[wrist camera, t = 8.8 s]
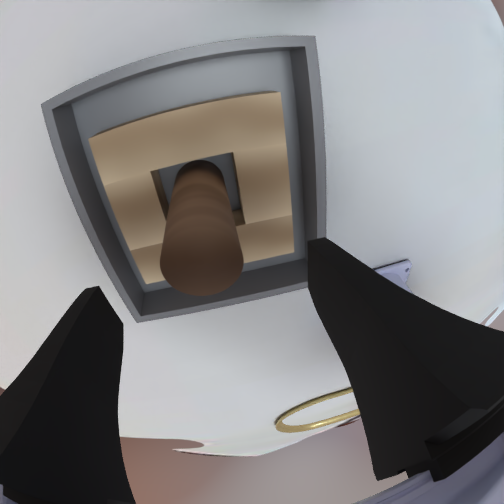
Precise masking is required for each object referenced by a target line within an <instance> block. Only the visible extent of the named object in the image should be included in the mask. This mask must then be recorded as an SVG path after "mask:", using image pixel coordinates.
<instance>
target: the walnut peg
mask: <svg viewBox="0 0 504 504" xmlns="http://www.w3.org/2000/svg"><path fill="white" fill-rule="evenodd" d="M243 265H244V258H243V253H242V250H241V246H240V242H239V238H238V234H237V230H236V226H235V222H234V218H233V214H232V210H231V205H230V201H229V197H228V193H227V189H226V185H225V181H224V177H223V174H222V172H221V170H220V169H219V168H218V167H217V166H216V165H215V164H214V163H212V162H209V161H206V160H194V161H191V162H188V163H187V164H185V165H184V166H183V167H182V168H181V169H180V170H179V171H178V173H177V175H176V178H175V183H174V187H173V192H172V196H171V201H170V206H169V211H168V216H167V221H166V226H165V232H164V238H163V243H162V250H161V256H160V269H161V272H162V275H163V277H164V278H165V280H166V281H167V282H168V283H169V284H170V285H171V286H172V287H173V288H175V289H176V290H178V291H180V292H183V293H185V294H189V295H195V296H207V295H213V294H216V293H219V292H222V291H224V290H226V289H227V288H229V287H230V286H231V285H233V284H234V283H235V282H236V280H237V279H238V278H239V276H240V274H241V272H242V270H243Z"/></svg>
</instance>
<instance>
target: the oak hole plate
mask: <svg viewBox="0 0 504 504" xmlns="http://www.w3.org/2000/svg"><path fill="white" fill-rule="evenodd" d="M88 140H89V143H90V146H91V150H92V153H93V156H94V159H95V162H96V165H97V168H98V171H99V174H100V177H101V180H102V183H103V185H104V188H105V191H106V194H107V196H108V199H109V201H110V204H111V207H112V209H113V212H114V214H115V217H116V219H117V222H118V224H119V226H120V229H121V231H122V233H123V236H124V238H125V240H126V243H127V245H128V247H129V249H130V252H131V254H132V256H133V258H134V260H135V262H136V264H137V267H138V269H139V271H140V273H141V275H142V277H143V279H144V281H145V283H146V284H149V283H154V282H159V281H164V280H165V278H164V277H163V275H162V272H161V269H160V256H161V250H162V243H163V238H164V232H165V226H166V221H167V216H168V211H169V204H168V201H167V198H166V195H165V191H164V188H163V185H162V181H161V178H160V174H159V171H158V169H161V168H165V167H168V166H172V165H176V164H180V163H184V162H188V161H193V160H197V159H201V158H206V157H210V156H215V155H220V154H225V153H230V152H231V156H232V161H233V167H234V173H235V179H236V184H237V190H238V195H239V201H240V207H241V209H238V210H234V211H232V214H233V218H234V222H235V226H236V230H237V234H238V238H239V242H240V246H241V250H242V253H243V258H244V263H248V262H252V261H257V260H261V259H266V258H270V257H275V256H280V255H284V254H289V253H293V252H294V238H293V221H292V207H291V193H290V180H289V169H288V157H287V147H286V137H285V127H284V118H283V109H282V101H281V92H277V91H263V92H255V93H248V94H241V95H234V96H228V97H223V98H217V99H212V100H207V101H202V102H197V103H193V104H188V105H184V106H180V107H176V108H172V109H168V110H165V111H161V112H157V113H154V114H150V115H147V116H144V117H141V118H137V119H134V120H131V121H128V122H125V123H122V124H119V125H117V126H114V127H111V128H108V129H106V130H103V131H100V132H99V133H97V134H95V135H94V136H92V137H90V138H89V139H88Z"/></svg>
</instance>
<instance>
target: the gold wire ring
mask: <svg viewBox="0 0 504 504" xmlns="http://www.w3.org/2000/svg"><path fill="white" fill-rule="evenodd" d="M351 392H353V389H352V388H348V389H345V390H342V391H339V392H336V393H332V394H329V395H325V396H322V397H319V398H316V399H314V400H311V401H309V402H306V403H304V404H302V405H299V406H297V407H295V408H293V409H292V410H290V411H288V412H287V413H285V414H284V415H283V416H282V417H281V418H280V419H279V420H278V421H277V423H276V429H277V430H278V431H280V432H286V433H292V432H301V431H307V430H311V429H315V428H319V427H322V426H326V425H329V424H332V423H335V422H339V421H342V420H345V419H348V418H351V417H353V416H356V415H359V414H360V411H359V409H356V410H353V411H351V412H348V413H345V414H342V415H338V416H335V417H332V418H329V419H325V420H322V421H318V422H315V423H311V424H306V425H299V426H289V425H285V424H283V423H282V420H283V419H284V418H286V417H288V416H289V415H291V414H293V413H295V412H297V411H299V410H302V409H304V408H306V407H309V406H311V405H314V404H316V403H319V402H322V401H325V400H328V399H331V398H335V397H338V396H341V395H345V394H348V393H351Z"/></svg>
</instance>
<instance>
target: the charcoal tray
mask: <svg viewBox="0 0 504 504" xmlns="http://www.w3.org/2000/svg"><path fill="white" fill-rule="evenodd" d="M263 91H277V92H281V101H282V109H283V118H284V127H285V137H286V147H287V157H288V169H289V180H290V193H291V207H292V221H293V238H294V252H293V253H289V254H284V255H280V256H275V257H270V258H266V259H261V260H257V261H252V262H248V263H244V265H243V270H242V272H241V274H240V276H239V278H238V279H237V280H236V282H235V283H234V284H233V285H231V286H230V287H229V288H227V289H226V290H224V291H222V292H219V293H216V294H213V295H207V296H195V295H189V294H185V293H183V292H180V291H178V290H176V289H175V288H173V287H172V286H171V285H170V284H169V283H168V282H167V281H166V280H164V281H159V282H154V283H149V284H146V283H145V281H144V279H143V277H142V275H141V273H140V271H139V269H138V267H137V264H136V262H135V260H134V258H133V256H132V254H131V252H130V249H129V247H128V245H127V243H126V240H125V238H124V236H123V233H122V231H121V229H120V226H119V224H118V222H117V219H116V217H115V214H114V212H113V209H112V207H111V204H110V201H109V199H108V196H107V194H106V191H105V188H104V185H103V183H102V180H101V177H100V174H99V171H98V168H97V165H96V162H95V159H94V156H93V153H92V150H91V146H90V143H89V140H88V139H89V138H90V137H92V136H94V135H95V134H97V133H99V132H100V131H103V130H106V129H108V128H111V127H114V126H117V125H119V124H122V123H125V122H128V121H131V120H134V119H137V118H141V117H144V116H147V115H150V114H154V113H157V112H161V111H165V110H168V109H172V108H176V107H180V106H184V105H188V104H193V103H197V102H202V101H207V100H212V99H217V98H223V97H228V96H234V95H241V94H248V93H255V92H263ZM41 107H42V111H43V115H44V119H45V123H46V127H47V130H48V134H49V137H50V140H51V144H52V147H53V150H54V153H55V156H56V159H57V162H58V165H59V168H60V171H61V173H62V176H63V179H64V182H65V184H66V187H67V189H68V192H69V194H70V197H71V199H72V202H73V204H74V206H75V209H76V211H77V213H78V216H79V218H80V220H81V222H82V225H83V227H84V229H85V231H86V233H87V235H88V237H89V239H90V241H91V243H92V245H93V247H94V249H95V251H96V253H97V255H98V257H99V259H100V261H101V263H102V265H103V267H104V269H105V270H106V272H107V274H108V276H109V278H110V279H111V281H112V283H113V285H114V286H115V288H116V290H117V292H118V293H119V295H120V297H121V298H122V300H123V302H124V303H125V305H126V307H127V308H128V310H129V311H130V313H131V315H132V316H133V318H134V319H135V321H136V322H137V323H139V322H145V321H151V320H157V319H162V318H168V317H173V316H179V315H184V314H189V313H195V312H200V311H205V310H210V309H215V308H220V307H224V306H229V305H234V304H239V303H243V302H248V301H252V300H257V299H261V298H266V297H270V296H274V295H278V294H283V293H287V292H291V291H295V290H299V289H303V288H307V287H308V249H307V241H309V240H314V239H318V238H323V237H325V238H326V156H325V133H324V116H323V103H322V91H321V80H320V70H319V61H318V53H317V45H316V38H315V36H270V37H256V38H245V39H236V40H228V41H221V42H215V43H209V44H203V45H198V46H193V47H188V48H184V49H180V50H175V51H171V52H167V53H164V54H160V55H156V56H153V57H149V58H146V59H143V60H140V61H137V62H134V63H131V64H128V65H125V66H122V67H119V68H117V69H114V70H111V71H109V72H106V73H104V74H101V75H99V76H96V77H94V78H92V79H89V80H87V81H85V82H83V83H81V84H78V85H76V86H74V87H72V88H70V89H68V90H66V91H64V92H62V93H60V94H58V95H56V96H55V97H53V98H51V99H49V100H47V101H46V102H44V103H42V104H41ZM197 160H206V161H209V162H212V163H214V164H215V165H216V166H217V167H218V168H219V169H220V170H221V172H222V174H223V177H224V181H225V185H226V189H227V193H228V197H229V201H230V205H231V210H232V211H234V210H238V209H241V207H240V201H239V195H238V190H237V184H236V179H235V173H234V167H233V161H232V156H231V152H230V153H225V154H220V155H215V156H210V157H206V158H201V159H197ZM193 161H194V160H193ZM188 162H191V161H188ZM188 162H184V163H180V164H176V165H172V166H168V167H165V168H161V169H158V171H159V174H160V178H161V181H162V185H163V188H164V191H165V195H166V198H167V201H168V204H169V206H170V201H171V196H172V192H173V187H174V183H175V178H176V175H177V173H178V171H179V170H180V169H181V168H182V167H183V166H184V165H185V164H187V163H188Z"/></svg>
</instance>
